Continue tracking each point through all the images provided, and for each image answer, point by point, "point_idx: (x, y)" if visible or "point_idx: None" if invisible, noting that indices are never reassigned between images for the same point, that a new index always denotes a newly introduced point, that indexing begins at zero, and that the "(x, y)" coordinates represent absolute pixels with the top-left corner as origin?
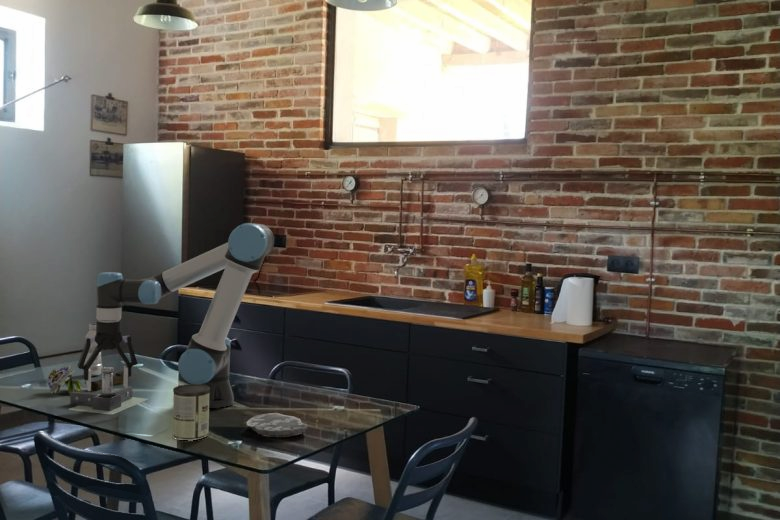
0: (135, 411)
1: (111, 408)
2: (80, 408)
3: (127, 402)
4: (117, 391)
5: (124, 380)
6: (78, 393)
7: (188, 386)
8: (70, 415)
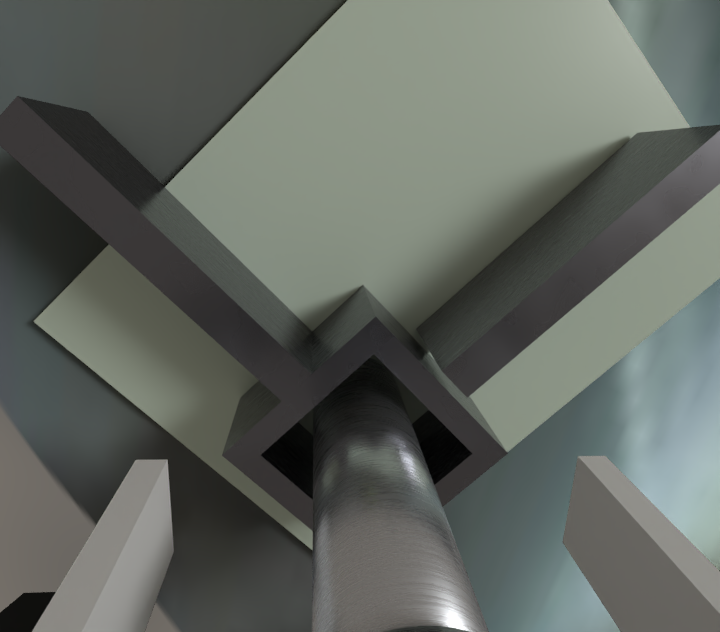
0: (526, 514)
1: None
2: (146, 331)
3: None
4: (509, 344)
5: (613, 558)
6: (88, 224)
7: None
8: (60, 452)
